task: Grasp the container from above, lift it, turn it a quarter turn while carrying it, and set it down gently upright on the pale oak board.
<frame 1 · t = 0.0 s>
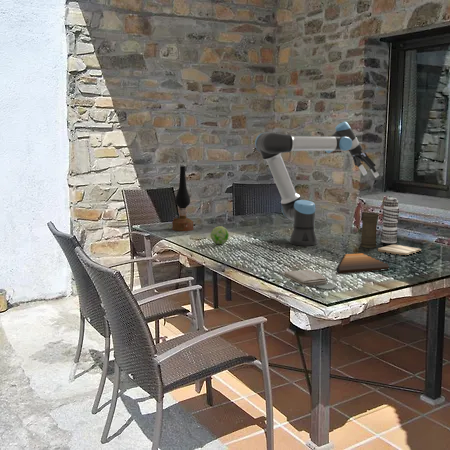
hand: (371, 175, 338), 36 cm above the table, tool tilted 35°, fingers open, 13 cm apart
decorative ball: (219, 244, 314), on the table
oil lamp: (182, 229, 357), on the table
oak board: (399, 251, 300), on the table
washcloth: (305, 281, 244), on the table
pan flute: (350, 266, 269), on the table
container: (368, 246, 312), on the table
decorative candle: (388, 242, 325), on the table
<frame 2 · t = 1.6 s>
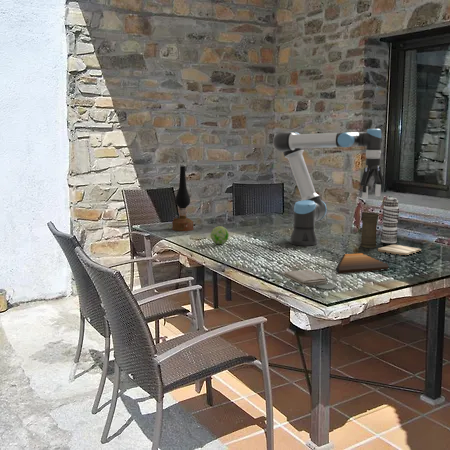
hand: (371, 197, 309), 27 cm above the table, tool pointing down, fingers open, 13 cm apart
nothing on the table moved.
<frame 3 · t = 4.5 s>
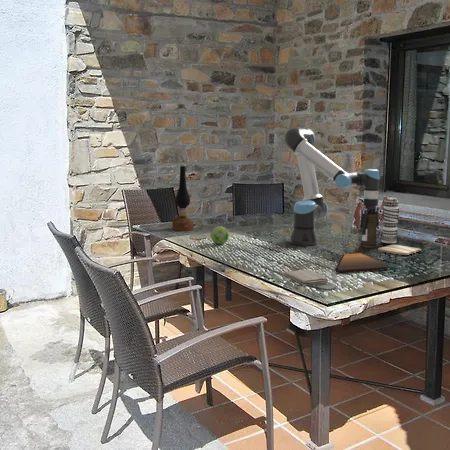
hand: (368, 239, 312), 4 cm above the table, tool pointing down, fingers closed on container, 8 cm apart
container: (368, 246, 312), on the table, touching gripper
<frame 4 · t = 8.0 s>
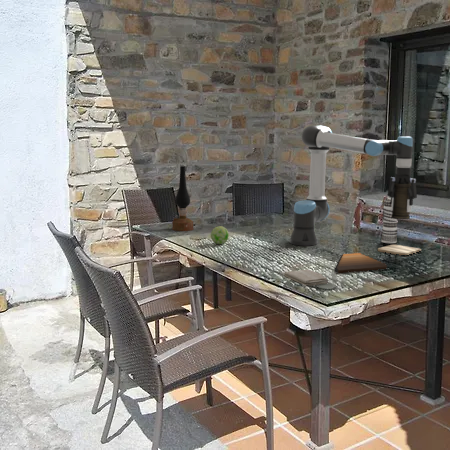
hand: (401, 210, 297), 22 cm above the table, tool pointing down, fingers closed on container, 8 cm apart
container: (400, 218, 298), point 18 cm above the table, touching gripper
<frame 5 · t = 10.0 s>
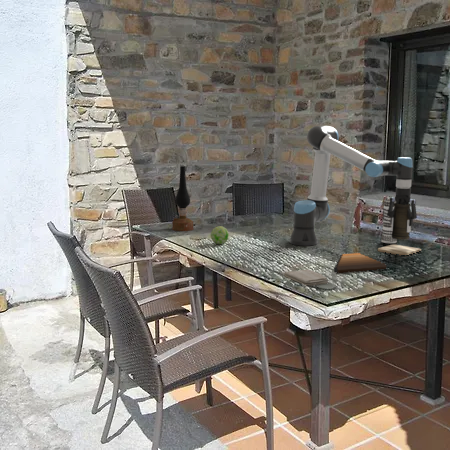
hand: (400, 230, 298), 11 cm above the table, tool pointing down, fingers closed on container, 8 cm apart
container: (400, 238, 299), point 7 cm above the table, touching gripper
when the fingers open (7 cm above the table, at t = 11.7 s): container drops 1 cm, resting on oak board.
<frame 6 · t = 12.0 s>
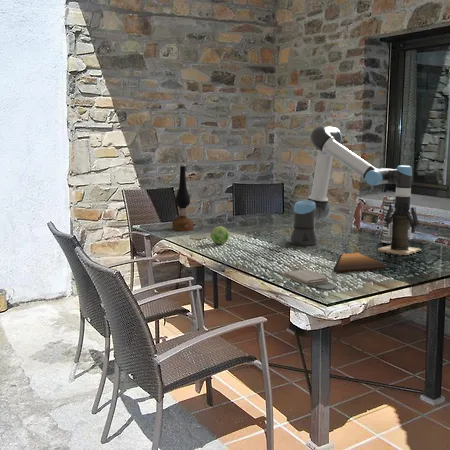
hand: (400, 237, 299), 8 cm above the table, tool pointing down, fingers open, 11 cm apart
container: (399, 248, 300), point 1 cm above the table, touching oak board
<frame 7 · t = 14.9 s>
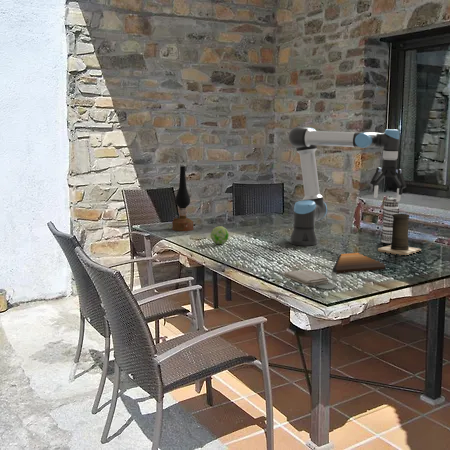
hand: (386, 199, 304), 26 cm above the table, tool pointing down, fingers open, 13 cm apart
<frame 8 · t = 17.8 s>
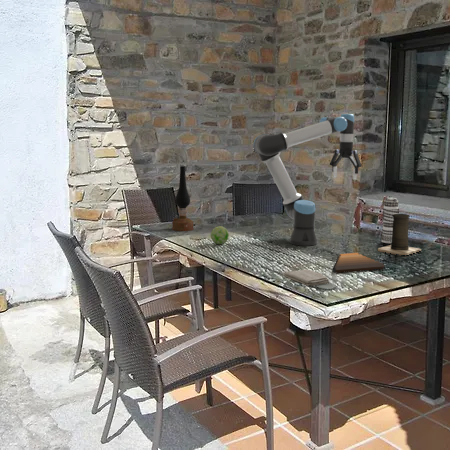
hand: (344, 178, 330), 35 cm above the table, tool pointing down, fingers open, 13 cm apart
at the end: container inside the target area on the oak board (0.1 cm from its centre), point 1.3 cm above the oak board's base; container tilted 0°; the gripper is holding nothing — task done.
